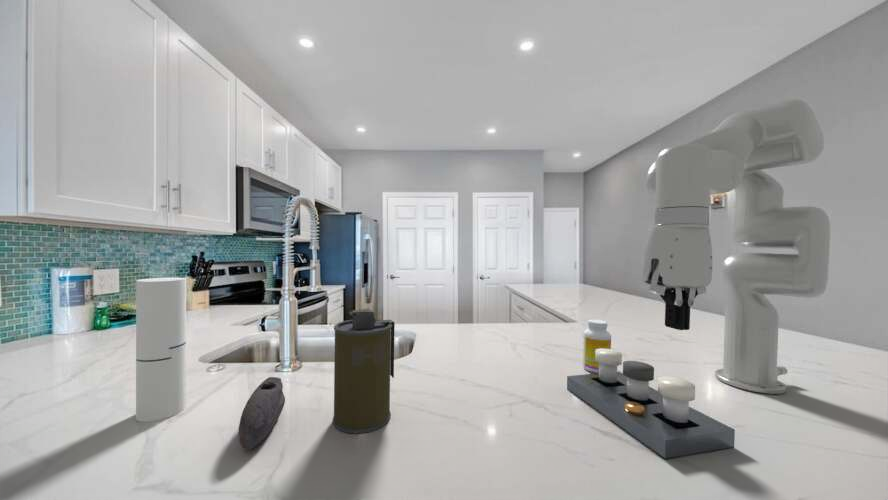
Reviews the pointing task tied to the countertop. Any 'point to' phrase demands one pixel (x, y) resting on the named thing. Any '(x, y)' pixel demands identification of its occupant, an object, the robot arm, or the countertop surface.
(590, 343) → the supplement bottle
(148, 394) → the cylindrical container
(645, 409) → the panel
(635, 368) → the knob middle
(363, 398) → the canister
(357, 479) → the countertop surface
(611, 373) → the knob
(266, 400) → the perforated stone tool
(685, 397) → the knob
